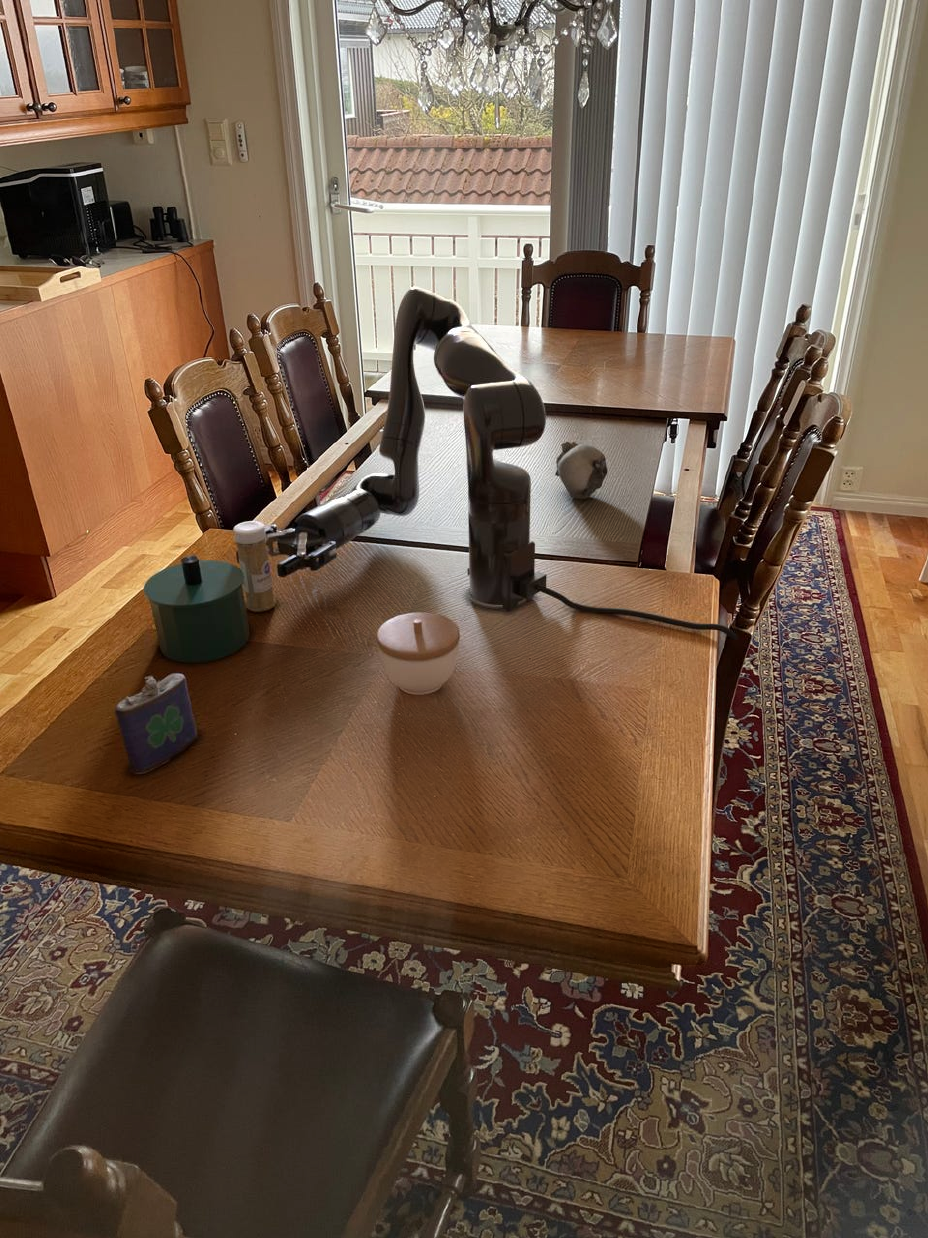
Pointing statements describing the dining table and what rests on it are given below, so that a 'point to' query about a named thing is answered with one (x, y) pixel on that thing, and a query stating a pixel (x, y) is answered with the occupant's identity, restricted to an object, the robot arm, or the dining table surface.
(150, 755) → the flask
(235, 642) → the pot
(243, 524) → the sprinkles bottle
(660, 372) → the dining table surface
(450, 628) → the trinket box
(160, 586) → the pot lid
